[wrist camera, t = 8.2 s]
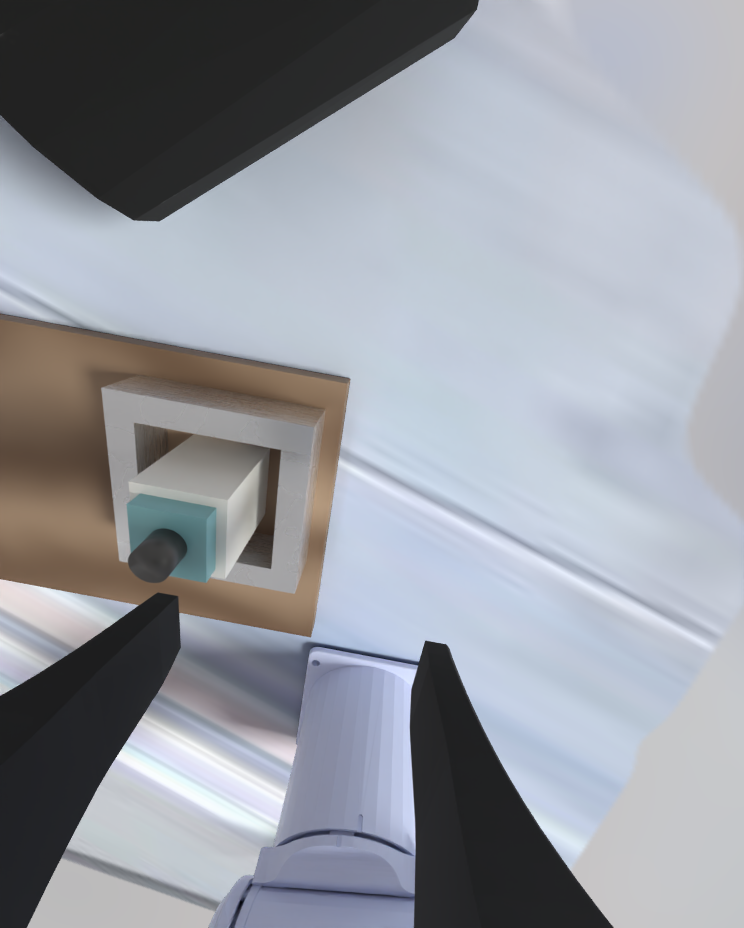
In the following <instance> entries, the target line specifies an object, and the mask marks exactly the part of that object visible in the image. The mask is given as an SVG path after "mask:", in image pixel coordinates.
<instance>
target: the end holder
mask: <svg viewBox="0 0 744 928" xmlns="http://www.w3.org/2000/svg"><path fill="white" fill-rule="evenodd" d="M101 390H102V400H103V410H104V419H105V429H106V438H107V448H108V457H109V467H110V476H111V486H112V496H113V505H114V515H115V524H116V534H117V543H118V553H119V561H121V562H127V563H128V557H129V555H130V554H131V551H130V539H129V528H128V516H127V505H126V504H127V503H129V502H130V494H129V482H128V481H130V480H131V479H133V478H134V477H135V476H137V475H138V474H140V473H141V472H142V471H144V470H145V469H146V468H148V467H149V466H151V465H152V464H153V463H155V462H156V461H158V460H159V459H160V458H162V457H163V456H165V455H166V454H167V453H169V450H168V429H172V430H177V431H182V432H188V433H193V434H198V435H204V436H209V437H214V438H220V439H225V440H231V441H236V442H241V443H247V444H252V445H257V446H263V447H268V448H273V449H279V450H281V458H280V470H279V482H278V494H277V506H276V518H275V530H274V536H271V535H266V534H261V533H255V532H254V533H253V535H252V536H251V538H250V540H249V541H248V543H247V545H246V546H245V548H244V549H243V551H242V553H241V554H240V556H239V558H238V559H237V561H236V563H235V564H234V566H233V567H232V569H231V571H230V572H229V574H228V576H227V577H226V579H221V578H216V577H210V578H212V579H217V580H223V581H228V582H233V583H239V584H244V585H249V586H255V587H260V588H265V589H271V590H276V591H281V592H287V593H292V594H295V591H296V589H297V586H298V583H299V580H300V578H301V575H302V572H303V569H304V566H305V564H306V560H307V552H308V544H309V536H310V528H311V521H312V513H313V505H314V497H315V489H316V481H317V473H318V465H319V457H320V449H321V441H322V433H323V425H324V417H325V410H326V409H322V408H317V407H311V406H306V405H300V404H295V403H290V402H284V401H279V400H274V399H268V398H263V397H257V396H252V395H247V394H241V393H236V392H231V391H225V390H220V389H214V388H209V387H204V386H198V385H193V384H188V383H182V382H177V381H171V380H166V379H161V378H155V377H150V376H144V375H136V376H134V377H131V378H128V379H125V380H122V381H119V382H116V383H114V384H111V385H108V386H105V387H102V388H101Z"/></svg>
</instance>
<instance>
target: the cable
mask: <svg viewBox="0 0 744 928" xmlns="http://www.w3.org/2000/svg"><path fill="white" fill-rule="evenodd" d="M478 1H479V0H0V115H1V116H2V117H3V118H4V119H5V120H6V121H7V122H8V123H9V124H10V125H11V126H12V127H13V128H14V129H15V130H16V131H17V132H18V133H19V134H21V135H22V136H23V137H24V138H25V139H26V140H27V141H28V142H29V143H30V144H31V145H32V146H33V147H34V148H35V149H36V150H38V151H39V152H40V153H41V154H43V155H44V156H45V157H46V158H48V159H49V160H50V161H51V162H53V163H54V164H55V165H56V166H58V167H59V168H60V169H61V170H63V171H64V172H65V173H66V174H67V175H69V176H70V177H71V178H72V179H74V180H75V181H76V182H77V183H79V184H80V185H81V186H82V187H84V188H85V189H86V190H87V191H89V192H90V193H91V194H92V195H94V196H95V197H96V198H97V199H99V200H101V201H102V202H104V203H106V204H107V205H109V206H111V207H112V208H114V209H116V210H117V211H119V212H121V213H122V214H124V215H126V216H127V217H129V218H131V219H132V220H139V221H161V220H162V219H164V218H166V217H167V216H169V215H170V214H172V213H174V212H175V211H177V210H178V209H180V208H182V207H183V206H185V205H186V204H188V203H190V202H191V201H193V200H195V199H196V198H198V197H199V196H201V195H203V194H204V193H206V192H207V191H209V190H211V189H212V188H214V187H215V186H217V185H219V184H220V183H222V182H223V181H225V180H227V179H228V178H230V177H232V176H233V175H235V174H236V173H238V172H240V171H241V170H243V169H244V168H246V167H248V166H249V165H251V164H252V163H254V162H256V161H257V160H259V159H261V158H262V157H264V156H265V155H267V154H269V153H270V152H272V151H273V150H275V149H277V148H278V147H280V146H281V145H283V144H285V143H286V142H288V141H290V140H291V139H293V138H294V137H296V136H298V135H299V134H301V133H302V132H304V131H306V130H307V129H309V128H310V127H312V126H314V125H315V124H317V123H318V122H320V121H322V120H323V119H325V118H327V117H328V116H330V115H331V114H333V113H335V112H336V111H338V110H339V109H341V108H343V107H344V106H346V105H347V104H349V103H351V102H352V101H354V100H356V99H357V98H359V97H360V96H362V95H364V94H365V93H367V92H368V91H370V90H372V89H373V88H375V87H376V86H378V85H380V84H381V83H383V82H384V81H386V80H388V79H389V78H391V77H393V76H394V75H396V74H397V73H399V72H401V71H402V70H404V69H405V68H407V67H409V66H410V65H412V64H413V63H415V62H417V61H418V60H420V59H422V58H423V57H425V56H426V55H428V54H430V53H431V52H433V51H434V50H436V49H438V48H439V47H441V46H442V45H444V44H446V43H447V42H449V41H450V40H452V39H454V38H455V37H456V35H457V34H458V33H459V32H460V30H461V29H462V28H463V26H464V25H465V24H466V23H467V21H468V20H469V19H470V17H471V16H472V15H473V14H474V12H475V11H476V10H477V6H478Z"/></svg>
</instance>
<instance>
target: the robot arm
mask: <svg viewBox="0 0 744 928" xmlns="http://www.w3.org/2000/svg"><path fill="white" fill-rule="evenodd" d="M180 648H181V645H180V622H179V599H178V596H175V595H170V594H164V593H159V592H157V593H156V594H154V595H153V596H151V597H150V598H149V599H147V600H146V601H144V602H143V603H142V604H140V605H139V606H137V607H136V608H135V609H133V610H132V611H131V612H129V613H128V614H126V615H125V616H124V617H122V618H121V619H119V620H118V621H117V622H115V623H114V624H112V625H111V626H110V627H108V628H107V629H105V630H104V631H102V632H101V633H100V634H98V635H97V636H95V637H94V638H92V639H91V640H89V641H88V642H86V643H85V644H84V645H82V646H81V647H79V648H78V649H76V650H75V651H73V652H72V653H70V654H68V655H67V656H65V657H64V658H62V659H61V660H59V661H58V662H56V663H54V664H53V665H51V666H50V667H48V668H47V669H45V670H44V671H42V672H40V673H39V674H37V675H35V676H34V677H32V678H30V679H29V680H27V681H25V682H24V683H22V684H20V685H19V686H17V687H15V688H13V689H12V690H10V691H8V692H6V693H5V694H3V695H1V696H0V928H27V926H28V924H29V922H30V920H31V918H32V916H33V914H34V912H35V909H36V907H37V905H38V903H39V901H40V899H41V897H42V895H43V893H44V891H45V889H46V887H47V885H48V883H49V881H50V879H51V877H52V875H53V873H54V871H55V869H56V867H57V865H58V863H59V861H60V859H61V857H62V855H63V853H64V851H65V849H66V847H67V845H68V843H69V841H70V840H71V838H72V836H73V834H74V832H75V830H76V828H77V826H78V824H79V822H80V820H81V818H82V817H83V815H84V813H85V811H86V809H87V807H88V805H89V803H90V801H91V800H92V798H93V796H94V794H95V792H96V790H97V788H98V786H99V785H100V783H101V781H102V780H103V778H104V776H105V775H106V773H107V771H108V770H109V768H110V766H111V765H112V763H113V761H114V760H115V758H116V757H117V755H118V754H119V752H120V751H121V749H122V747H123V746H124V744H125V743H126V741H127V740H128V738H129V736H130V735H131V733H132V732H133V730H134V729H135V727H136V725H137V724H138V722H139V721H140V719H141V718H142V716H143V715H144V713H145V711H146V710H147V708H148V707H149V705H150V703H151V702H152V700H153V699H154V697H155V695H156V694H157V692H158V691H159V689H160V687H161V686H162V684H163V682H164V680H165V678H166V677H167V675H168V673H169V671H170V669H171V667H172V665H173V662H174V660H175V658H176V656H177V654H178V652H179V650H180ZM316 660H317V661H316ZM296 744H297V749H296V753H295V757H294V762H293V766H292V770H291V774H290V778H289V783H288V787H287V791H286V795H285V800H284V804H283V808H282V812H281V816H280V821H279V825H278V829H277V833H276V838H275V842H274V846H273V847H263V848H261V851H260V855H259V859H258V862H257V866H256V870H255V874H254V875H246V876H242V877H241V878H240V879H239V880H238V881H237V882H236V883H235V885H234V886H233V887H232V889H231V890H230V892H229V893H228V894H227V895H226V896H225V897H224V899H223V900H222V902H221V903H220V905H219V906H218V908H217V910H216V912H215V914H214V916H213V918H212V920H211V923H210V925H209V927H208V928H613V926H612V925H611V924H610V923H609V921H608V920H607V919H606V918H605V916H604V915H603V914H602V912H601V911H600V910H599V909H598V907H597V906H596V905H595V903H594V902H593V901H592V899H591V898H590V897H589V895H588V894H587V893H586V892H585V890H584V889H583V887H582V886H581V885H580V883H579V882H578V881H577V879H576V878H575V877H574V875H573V874H572V872H571V871H570V870H569V868H568V867H567V865H566V864H565V862H564V861H563V860H562V858H561V857H560V855H559V854H558V852H557V851H556V850H555V848H554V847H553V845H552V844H551V842H550V841H549V840H548V838H547V837H546V835H545V834H544V832H543V831H542V830H541V828H540V826H539V825H538V823H537V822H536V820H535V819H534V817H533V816H532V814H531V812H530V811H529V809H528V808H527V806H526V805H525V803H524V801H523V800H522V798H521V796H520V795H519V793H518V791H517V790H516V788H515V786H514V785H513V783H512V781H511V780H510V778H509V776H508V775H507V773H506V771H505V769H504V767H503V766H502V764H501V762H500V760H499V758H498V756H497V755H496V753H495V751H494V749H493V747H492V745H491V743H490V741H489V739H488V737H487V735H486V733H485V731H484V729H483V727H482V725H481V723H480V721H479V719H478V717H477V715H476V713H475V710H474V708H473V706H472V704H471V702H470V700H469V697H468V695H467V693H466V690H465V688H464V686H463V683H462V681H461V678H460V676H459V673H458V671H457V668H456V666H455V663H454V660H453V658H452V655H451V652H450V649H449V647H448V646H447V645H446V644H441V643H435V642H430V641H425V644H424V647H423V651H422V654H421V657H420V661H419V664H418V665H413V664H407V663H402V662H397V661H391V660H386V659H381V658H375V657H370V656H365V655H359V654H354V653H349V652H343V651H338V650H333V649H327V648H322V647H313V648H312V649H311V650H310V653H309V657H308V664H307V671H306V678H305V685H304V692H303V699H302V705H301V712H300V719H299V726H298V733H297V740H296Z"/></svg>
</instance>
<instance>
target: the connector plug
mask: <svg viewBox="0 0 744 928" xmlns="http://www.w3.org/2000/svg"><path fill="white" fill-rule="evenodd" d="M269 455H270V448H265V447H260V446H254V445H249V444H244V443H238V442H233V441H228V440H223V439H217V438H212V437H207V436H201V435H196V434H194V435H192V436H191V437H189V438H188V439H187V440H185V441H184V442H183V443H181V444H180V445H178V446H177V447H176V448H174V449H173V450H171V451H170V452H169V453H167V454H166V455H165V456H163V457H162V458H160V459H159V460H158V461H156V462H155V463H153V464H152V465H151V466H149V467H148V468H146V469H145V470H144V471H142V472H141V473H140V474H138V475H137V476H135V477H134V478H133V479H131V480H130V481H128V482H129V494H130V502H129V503H127V504H126V505H127V516H128V528H129V539H130V551H131V554H130V555H129V557H128V565H129V568H130V570H131V571H132V572H133V574H134V575H135V576H137V577H138V578H139V579H141V580H143V581H145V582H149V583H160V582H163V581H164V580H166V579H167V578H168V576H172V577H177V578H183V579H188V580H193V581H198V582H204V583H207V581H208V580H209V578H210V577H216V578H221V579H226V577H227V576H228V574H229V572H230V571H231V569H232V567H233V566H234V564H235V563H236V561H237V559H238V558H239V556H240V554H241V553H242V551H243V549H244V548H245V546H246V545H247V543H248V541H249V540H250V538H251V536H252V535H253V533H254V531H255V530H256V528H257V526H258V525H259V523H260V522H261V520H262V518H263V517H264V515H265V510H266V496H267V482H268V469H269Z"/></svg>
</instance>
